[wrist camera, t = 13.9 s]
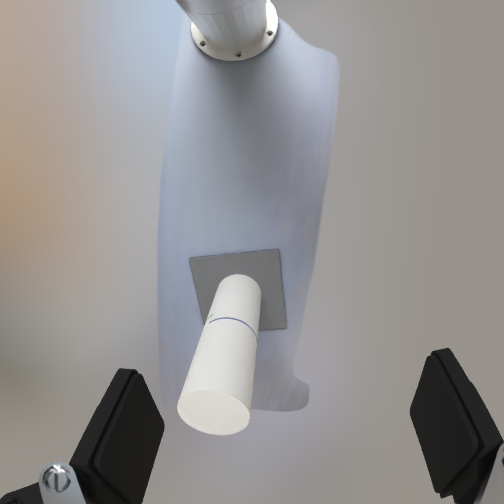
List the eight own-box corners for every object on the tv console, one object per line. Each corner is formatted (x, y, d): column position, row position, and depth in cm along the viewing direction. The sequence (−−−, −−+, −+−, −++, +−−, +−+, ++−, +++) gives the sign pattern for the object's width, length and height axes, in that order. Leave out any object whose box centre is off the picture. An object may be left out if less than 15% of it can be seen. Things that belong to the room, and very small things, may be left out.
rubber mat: (190, 257, 50) (189, 259, 49) (278, 248, 48) (278, 250, 48) (206, 330, 55) (206, 333, 54) (286, 325, 53) (286, 327, 52)
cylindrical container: (268, 303, 51) (262, 426, 28) (230, 319, 53) (202, 439, 29) (248, 267, 49) (226, 382, 26) (209, 284, 50) (162, 399, 27)
